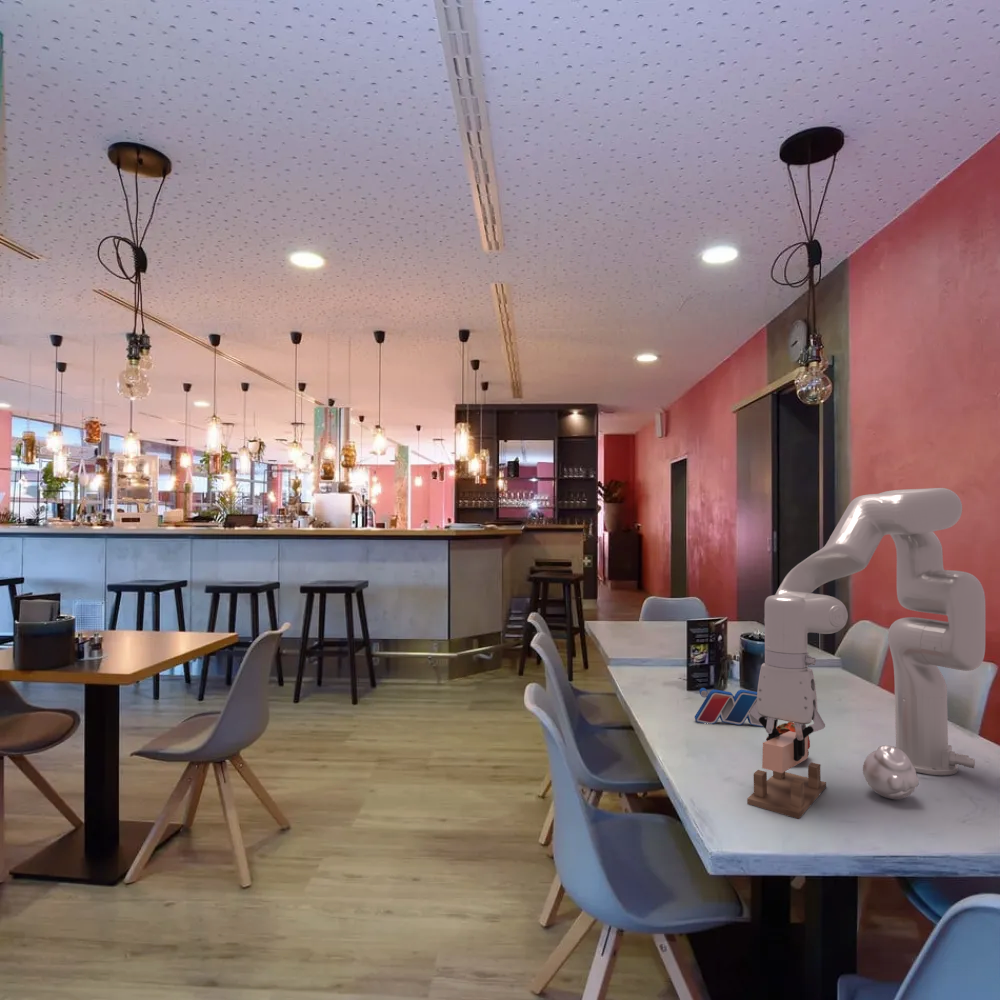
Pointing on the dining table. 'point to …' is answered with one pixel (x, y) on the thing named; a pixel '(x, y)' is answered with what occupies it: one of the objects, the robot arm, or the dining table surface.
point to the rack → (787, 791)
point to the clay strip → (781, 753)
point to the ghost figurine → (890, 772)
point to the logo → (727, 707)
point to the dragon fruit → (786, 728)
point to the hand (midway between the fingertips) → (786, 755)
